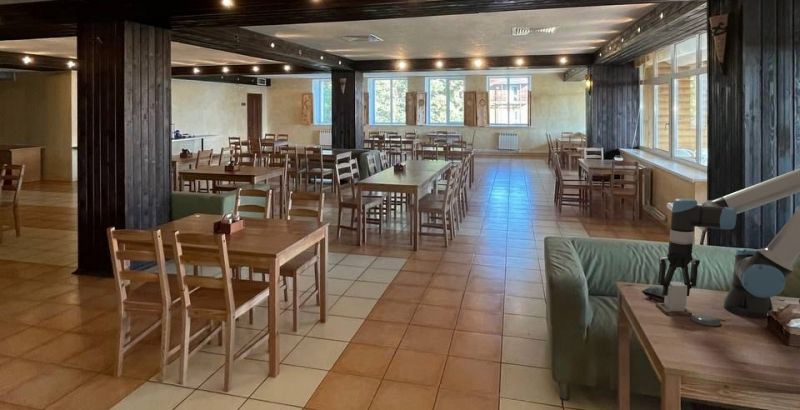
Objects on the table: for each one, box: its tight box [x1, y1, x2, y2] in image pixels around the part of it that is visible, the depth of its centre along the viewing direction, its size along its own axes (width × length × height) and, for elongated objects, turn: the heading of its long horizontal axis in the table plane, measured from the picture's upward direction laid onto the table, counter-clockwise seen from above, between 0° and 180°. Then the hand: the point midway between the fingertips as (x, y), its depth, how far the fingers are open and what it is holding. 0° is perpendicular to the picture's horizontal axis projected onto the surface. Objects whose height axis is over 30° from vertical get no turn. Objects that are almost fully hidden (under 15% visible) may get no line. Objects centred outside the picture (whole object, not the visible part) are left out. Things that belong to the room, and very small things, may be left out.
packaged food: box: [641, 284, 665, 303], centre depth 207 cm, size 9×12×5 cm
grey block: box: [664, 281, 687, 311], centre depth 193 cm, size 5×5×10 cm
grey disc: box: [690, 313, 721, 327], centre depth 185 cm, size 9×9×1 cm
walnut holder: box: [655, 302, 693, 317], centre depth 194 cm, size 9×9×1 cm
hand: (674, 304), depth 194 cm, fingers closed on grey block, 5 cm apart
